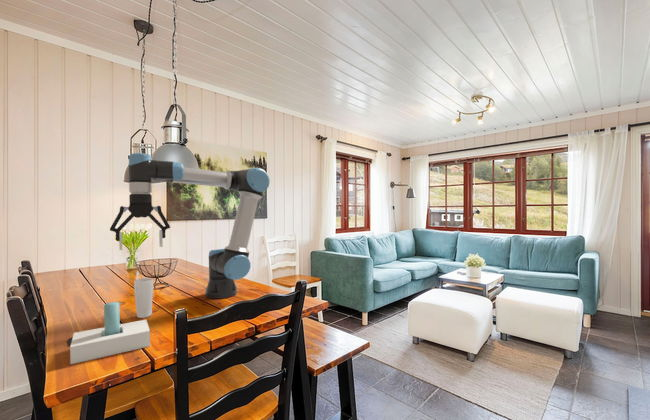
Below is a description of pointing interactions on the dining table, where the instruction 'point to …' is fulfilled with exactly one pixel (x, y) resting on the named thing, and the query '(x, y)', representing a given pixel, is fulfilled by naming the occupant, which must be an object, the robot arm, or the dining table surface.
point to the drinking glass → (143, 296)
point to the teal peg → (112, 318)
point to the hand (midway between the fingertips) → (141, 248)
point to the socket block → (109, 341)
